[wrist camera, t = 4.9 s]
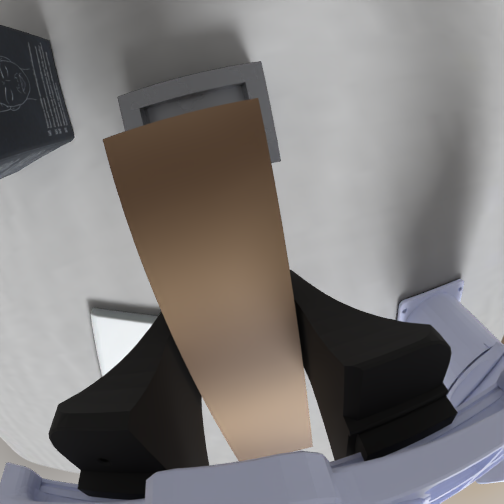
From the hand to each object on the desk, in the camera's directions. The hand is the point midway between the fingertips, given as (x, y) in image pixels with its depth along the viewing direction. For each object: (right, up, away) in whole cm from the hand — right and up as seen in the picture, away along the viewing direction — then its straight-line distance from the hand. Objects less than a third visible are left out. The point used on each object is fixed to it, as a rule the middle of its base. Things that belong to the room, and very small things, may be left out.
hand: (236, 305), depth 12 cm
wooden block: (0, +1, +1) cm, 2 cm away
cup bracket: (-2, +9, +5) cm, 11 cm away
